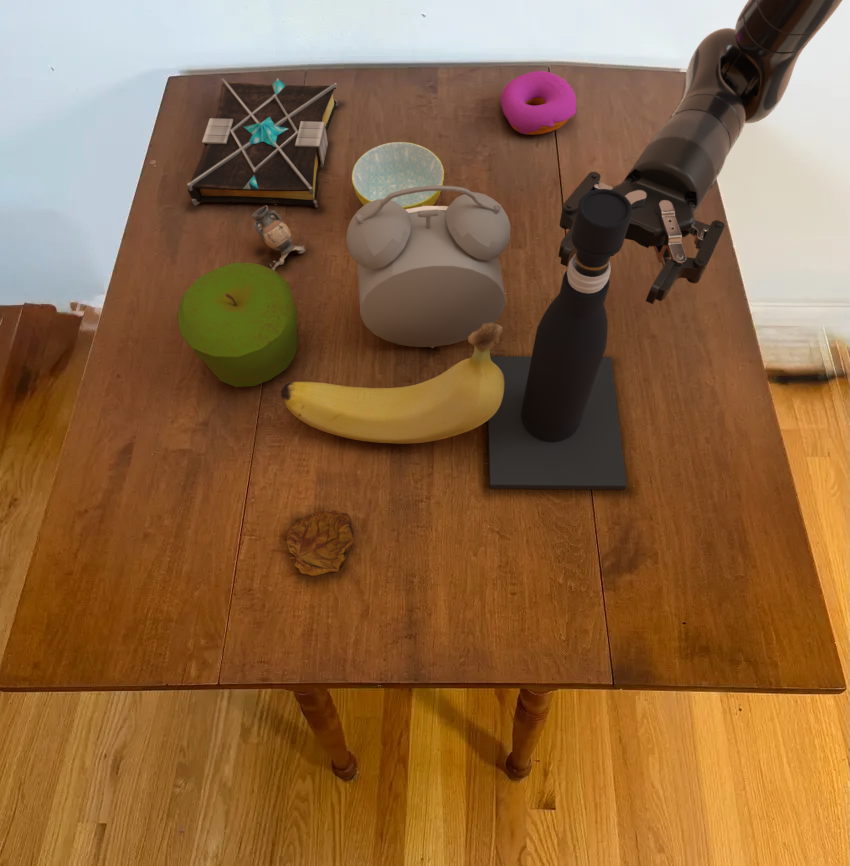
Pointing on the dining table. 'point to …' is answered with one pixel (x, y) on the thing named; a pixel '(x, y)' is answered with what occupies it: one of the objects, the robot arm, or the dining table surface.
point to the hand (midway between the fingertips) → (607, 277)
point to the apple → (241, 322)
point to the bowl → (398, 174)
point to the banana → (407, 401)
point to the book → (264, 144)
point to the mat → (555, 461)
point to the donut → (538, 102)
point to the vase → (274, 232)
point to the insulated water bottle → (575, 321)
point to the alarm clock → (429, 266)
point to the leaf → (321, 542)
